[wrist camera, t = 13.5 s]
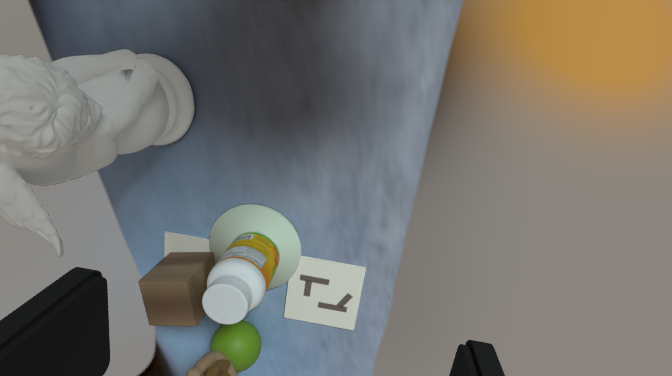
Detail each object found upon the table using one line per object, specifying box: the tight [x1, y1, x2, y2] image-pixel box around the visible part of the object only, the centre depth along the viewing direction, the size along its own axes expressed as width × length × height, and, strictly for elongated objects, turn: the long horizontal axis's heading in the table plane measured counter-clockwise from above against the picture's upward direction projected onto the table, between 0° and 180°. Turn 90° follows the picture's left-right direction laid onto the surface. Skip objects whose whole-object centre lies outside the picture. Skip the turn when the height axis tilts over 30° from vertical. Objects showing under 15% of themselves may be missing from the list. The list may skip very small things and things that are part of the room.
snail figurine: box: [186, 320, 261, 376], centre depth 42 cm, size 5×6×12 cm
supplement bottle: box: [202, 231, 280, 324], centre depth 39 cm, size 5×5×10 cm
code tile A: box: [284, 256, 366, 330], centre depth 45 cm, size 8×8×1 cm
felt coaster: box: [209, 204, 302, 289], centre depth 44 cm, size 10×10×1 cm
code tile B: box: [164, 231, 210, 258], centre depth 46 cm, size 8×8×1 cm
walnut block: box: [138, 252, 216, 326], centre depth 43 cm, size 5×5×6 cm
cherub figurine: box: [0, 49, 195, 257], centre depth 30 cm, size 12×12×22 cm
